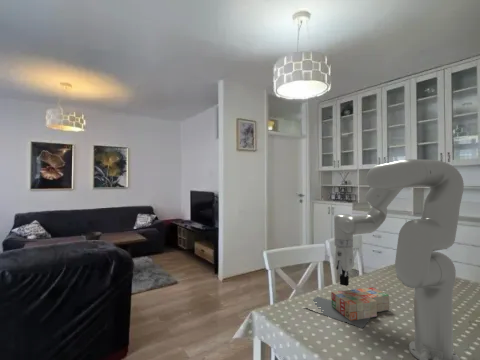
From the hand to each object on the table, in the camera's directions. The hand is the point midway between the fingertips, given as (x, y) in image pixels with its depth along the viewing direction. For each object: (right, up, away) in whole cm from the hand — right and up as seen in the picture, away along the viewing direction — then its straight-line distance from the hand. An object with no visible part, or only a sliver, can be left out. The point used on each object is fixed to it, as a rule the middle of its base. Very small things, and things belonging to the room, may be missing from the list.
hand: (344, 284), depth 115 cm
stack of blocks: (+4, -5, 0) cm, 6 cm away
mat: (-5, -9, -6) cm, 12 cm away
